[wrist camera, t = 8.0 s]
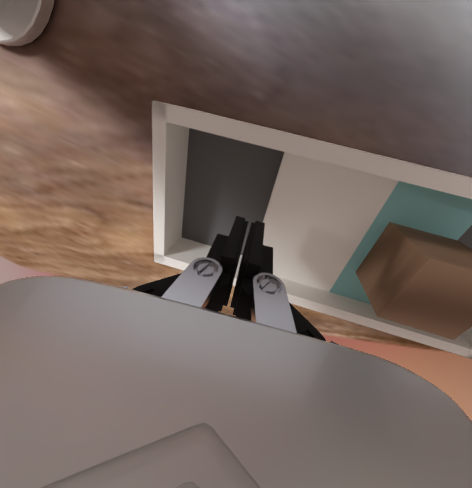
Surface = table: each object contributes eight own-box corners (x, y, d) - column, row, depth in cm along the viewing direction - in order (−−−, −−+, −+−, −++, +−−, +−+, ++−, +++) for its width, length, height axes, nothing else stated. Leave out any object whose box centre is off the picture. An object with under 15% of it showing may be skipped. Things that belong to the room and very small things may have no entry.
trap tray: (179, 105, 16) (151, 100, 13) (587, 205, 14) (683, 230, 11) (173, 241, 23) (154, 261, 20) (446, 322, 21) (477, 360, 17)
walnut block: (389, 222, 15) (429, 258, 11) (458, 240, 15) (526, 285, 11) (355, 271, 18) (377, 316, 14) (413, 288, 18) (453, 340, 13)
